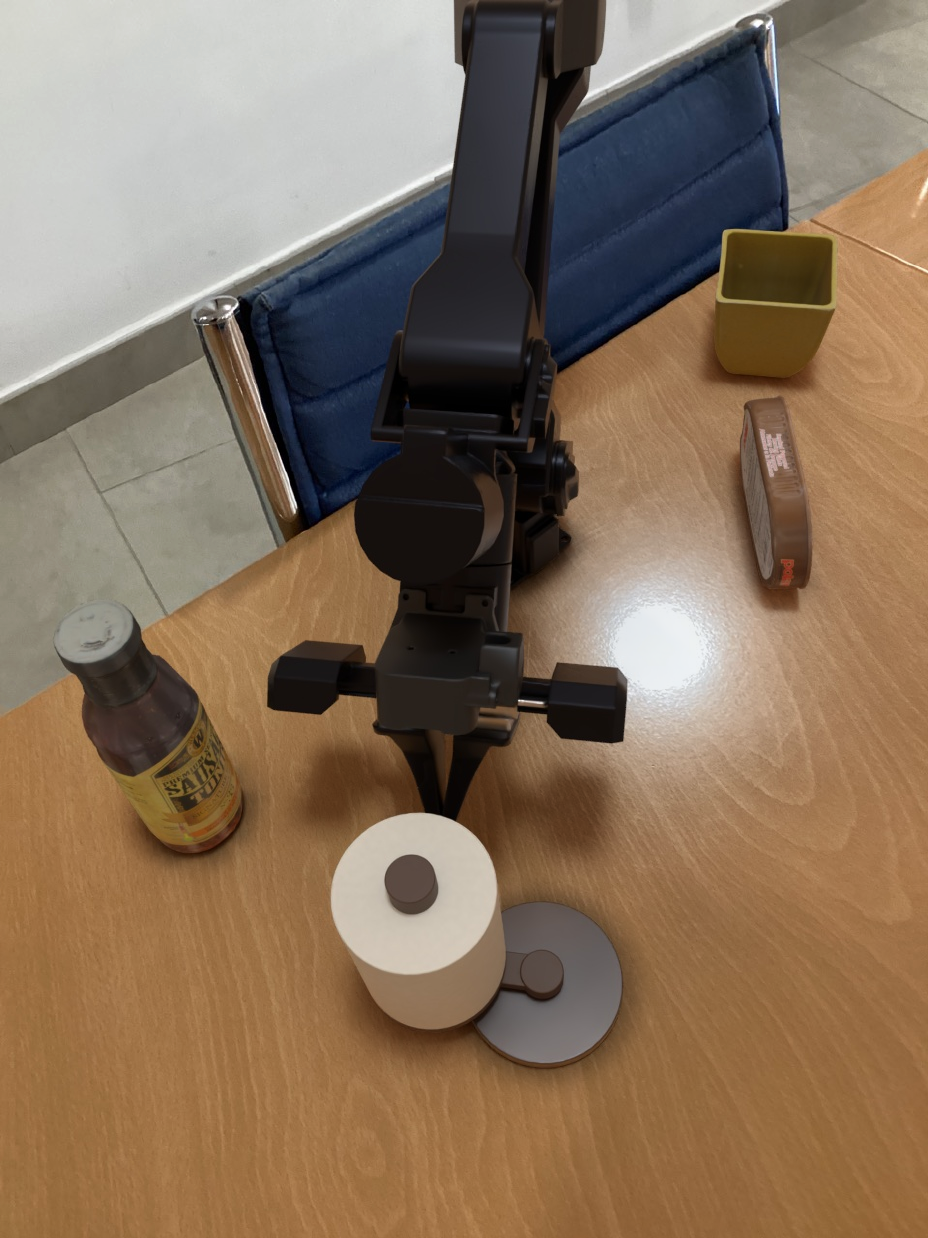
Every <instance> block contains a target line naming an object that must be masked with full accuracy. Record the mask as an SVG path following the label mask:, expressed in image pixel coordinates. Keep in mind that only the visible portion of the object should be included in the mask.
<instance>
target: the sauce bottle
mask: <svg viewBox="0 0 928 1238" xmlns="http://www.w3.org/2000/svg"><path fill="white" fill-rule="evenodd" d="M53 632H54V633H53V637H52V639H53V640H52V641H53V642H52V643H53V646H54V650H55V652H56V654H57V656H58V657H59V659H60V662H61V663H62V665H63V666H64V668H66V670H67V671H68V672H70V673H71V674H73V675H75V676H76V678H77V679H78V681H79V682H80V684H81V686H82V690H83V692H84V694H83V698H82V703H81V721H82V725H83V728H84V731H85V733H86V735H87V738H88V739H89V740H90V741H91V743H92V745H93V746H94V747H95V749H96V753H97V755H98V757H99V759H100V760H101V761H102V763H103V765H104V766H105V767H106V769H107V770H108V772H109V773H110V774H111V776H112V777H113V779H114V781H115V782H116V784H117V785H118V787H119V788H120V789H121V790H122V792H123V794H124V795H125V797H126V798H127V800H128V801H129V803H130V804H131V806H132V807H133V808H134V810H135V811H136V813H137V815H138V816H139V818H140V819H141V821H142V822H143V824H144V825H145V826H146V828H147V829H148V831H150V833H151V834H152V835H153V836H155V838H156V839H158V840H159V841H160V842H161V843H162V844H163V845H165V846H166V847H167V848H169V849H171V850H173V851H176V852H177V853H184V854H198V853H202V852H205V851H208V850H211V849H213V848H215V847H216V846H218V845H219V844H220V843H222V842H223V841H224V840H225V839H227V838H228V837H229V836H230V835H231V833H232V832H234V831H235V829H236V826H237V825H238V824H239V823H240V821H241V816H242V811H243V801H244V800H243V790H242V785H241V781H240V779H239V776H238V774H237V771H236V770H235V768H234V766H233V764H232V762H231V760H230V758H229V756H228V753H227V751H226V749H225V747H224V745H223V744H222V742H221V739H220V737H219V735H218V733H217V730H216V729H215V726H214V725H213V723H212V722H211V719H210V717H209V715H208V713H207V711H206V708H205V706H204V705H203V703H202V701H201V699H200V697H199V694H198V693H197V692H196V690H195V689H194V688H193V687H192V686H191V684H189V683H188V681H186V680H185V678H183V676H182V675H181V674H180V673H178V671H177V670H176V669H175V668H174V667H173V666H171V664H169V662H168V661H167V660H166V659H165V658H163V657H162V656H161V655H159V654H154V653H152V652H151V651H150V650H149V649H148V648H147V646H146V644H145V642H144V640H143V637H142V636H143V635H142V629H141V626H140V624H139V622H138V621H137V619H136V617H135V615H134V614H133V612H132V611H131V610H130V609H129V608H128V607H127V606H126V605H125V604H124V603H121V602H119V601H117V600H116V599H108V598H98V599H92V600H89V601H86V602H82V603H80V604H78V605H76V606H75V607H73V608H72V609H70V610H69V611H68V612H67V613H66V614H64V616H62V618H61V619H60V620H59V622H58V625H56V627H55V629H54V631H53Z"/></svg>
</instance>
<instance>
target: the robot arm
mask: <svg viewBox="0 0 928 1238" xmlns="http://www.w3.org/2000/svg"><path fill="white" fill-rule="evenodd" d="M606 20H607V0H453V39H454V40H453V46H454V47H453V48H454V53H453V54H454V63H455V64H456V65H459V66H461V67H462V69H463V73H464V83H463V90H462V97H461V104H460V112H459V119H458V127H457V134H456V142H455V148H454V156H453V157H454V158H453V164H452V171H451V177H450V179H451V180H450V185H449V192H448V200H447V208H446V216H445V221H444V222H445V223H444V228H443V229H444V230H443V236H442V242H441V246H440V247H441V248H440V253H439V254H438V256H437V257H436V258H435V259H434V260H433V261H432V263H431V264H430V265H429V266H428V267H427V268H426V269H425V270H424V272H423V273H422V274H421V275H420V276H418V278H417V280H416V281H415V282H414V283H413V284H412V286H411V288H410V293H409V298H408V303H407V308H406V314H405V319H404V324H403V329H402V330H396V332H395V334H394V335H393V338H392V342H391V347H390V349H389V354H388V357H387V362H386V366H385V370H384V374H383V378H382V383H381V386H380V389H379V394H378V399H377V402H376V407H375V411H374V414H373V419H372V423H371V426H370V440H371V441H372V442H379V443H380V442H381V443H395V444H400V453H399V454H396V455H394V456H392V457H390V458H388V459H386V460H384V461H383V462H382V463H381V464H379V465H378V466H377V467H376V468H374V469H373V470H372V471H371V473H370V474H369V475H368V476H367V478H366V480H365V481H364V482H363V484H362V486H361V488H360V491H359V494H358V497H357V499H356V501H355V503H354V509H353V510H354V511H353V520H354V521H353V522H354V531H355V534H356V537H357V540H358V543H359V546H360V548H361V550H362V551H363V553H364V555H365V556H366V558H367V560H368V561H369V562H371V563H372V564H373V565H374V567H376V569H378V571H380V572H381V573H382V574H384V575H386V576H388V577H389V578H391V579H392V580H395V581H398V582H399V593H398V596H397V609H396V611H395V614H394V617H393V620H392V622H391V625H390V627H389V630H388V632H387V635H386V637H385V639H384V640H383V643H382V646H381V648H380V650H379V653H378V655H377V657H376V659H375V662H367V656H366V652H365V648H364V645H363V644H354V643H343V642H333V641H322V640H321V641H320V640H309V639H305V640H303V641H302V642H300V643H298V644H297V645H295V646H294V647H291V649H289V650H288V651H286V652H284V653H282V654H281V655H280V656H278V658H277V659H275V660H274V661H273V662H272V663H271V665H270V668H269V672H268V675H267V688H266V689H267V690H266V691H267V693H266V695H267V696H266V698H267V699H266V707H267V708H269V709H270V710H272V711H276V712H288V713H297V714H307V715H317V716H321V715H323V714H324V713H325V712H326V711H327V710H329V708H331V707H332V706H333V705H334V704H335V703H336V702H338V700H340V696H346V697H359V698H369V699H375V700H376V715H377V717H376V719H375V720H374V721H373V723H372V730H373V733H375V734H376V735H378V736H386V737H388V738H390V739H391V740H392V741H393V743H395V745H396V746H397V747H398V748H399V750H400V751H401V752H402V754H403V756H404V758H405V761H406V763H407V764H408V767H409V769H410V772H411V774H412V776H413V780H414V782H415V785H416V788H417V792H418V794H419V799H420V803H421V805H422V808H423V813H429V814H435V815H439V816H443V817H446V818H448V819H451V820H453V821H455V822H457V823H458V819H459V817H460V814H461V811H462V809H463V806H464V804H465V802H466V799H467V796H468V794H469V791H470V789H471V785H472V784H473V780H474V778H475V776H476V773H477V771H478V770H479V767H480V766H481V764H482V762H483V761H484V759H485V757H486V756H487V754H488V752H489V750H490V748H493V747H494V748H505V747H509V746H510V745H511V744H512V742H513V739H514V737H515V735H516V732H517V730H518V727H519V725H520V722H521V713H526V714H536V715H537V714H538V715H545V716H546V724H547V725H548V726H549V727H550V728H551V729H552V730H553V732H555V734H556V735H557V736H558V737H559V738H560V740H561V739H562V740H572V741H582V742H592V743H603V744H610V745H611V744H612V745H613V744H618V743H623V742H624V741H625V728H626V716H627V704H628V703H627V702H628V681H629V679H628V678H627V677H626V675H625V674H624V673H623V671H622V670H621V669H620V668H619V667H618V666H617V667H615V666H605V665H604V666H603V665H594V664H593V665H592V664H584V663H571V662H559V661H557V662H556V663H555V666H554V669H553V672H552V675H551V678H543V677H532V676H531V677H530V676H524V674H525V673H524V671H525V669H524V668H525V643H524V642H525V641H524V634H523V633H522V632H513V631H508V627H509V625H508V624H509V614H510V613H509V611H510V596H511V595H510V594H511V590H514V589H516V588H517V587H519V585H521V584H522V583H524V581H526V580H527V579H529V578H530V577H531V576H533V575H536V574H537V573H539V572H540V571H541V570H543V569H544V568H545V567H546V566H548V565H549V564H551V563H552V562H553V561H555V559H557V558H558V557H559V556H560V554H561V553H562V552H564V551H565V550H566V549H567V548H568V547H570V546H571V545H572V536H571V535H570V533H568V532H567V531H565V530H564V529H563V528H561V527H560V525H559V524H560V523H559V522H560V520H559V518H558V517H565V515H566V510H568V509H569V504H570V501H572V500H574V499H576V498H577V497H578V496H579V490H580V471H579V469H578V467H577V466H576V464H575V462H576V456H575V455H574V454H573V453H574V440H564V439H561V425H562V417H561V414H560V411H559V410H558V407H557V405H556V403H555V400H554V396H555V391H556V390H555V389H556V384H557V376H558V363H557V362H556V361H555V360H554V358H553V357H552V356H551V344H550V343H549V342H548V339H547V338H545V329H546V316H547V315H546V314H547V302H548V292H549V291H548V289H549V277H550V264H551V253H552V251H551V250H552V239H553V226H554V216H555V215H554V214H555V213H554V212H555V203H556V202H555V201H556V190H557V189H556V188H557V187H556V186H557V176H558V166H559V165H558V163H559V150H560V140H561V134H562V132H563V131H564V129H565V128H566V126H567V125H568V123H569V122H570V121H571V119H572V118H573V116H574V114H575V113H576V111H577V110H578V108H579V107H580V105H581V103H582V102H583V101H584V99H585V98H586V96H587V95H588V93H589V89H590V82H591V81H590V80H591V70H592V67H593V66H595V65H597V63H598V62H599V60H600V58H601V56H602V54H603V49H604V42H605V31H606ZM407 403H408V404H409V405H408V407H409V408H408V407H407V408H406V405H407ZM446 736H452V754H451V761H450V767H449V772H448V778H447V757H446V755H447V752H446V750H447V749H446V747H447V746H446Z"/></svg>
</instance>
